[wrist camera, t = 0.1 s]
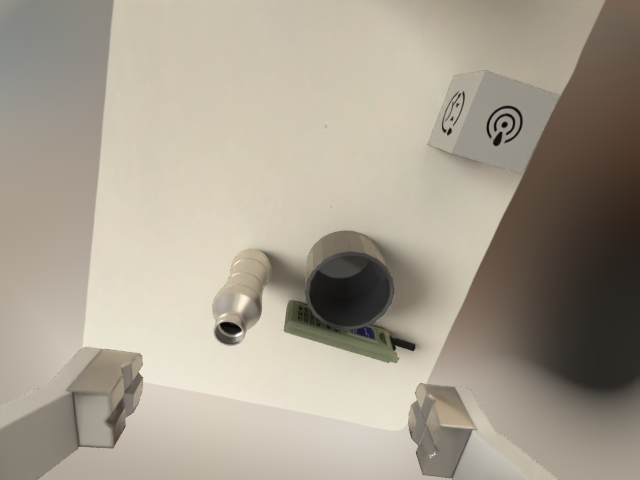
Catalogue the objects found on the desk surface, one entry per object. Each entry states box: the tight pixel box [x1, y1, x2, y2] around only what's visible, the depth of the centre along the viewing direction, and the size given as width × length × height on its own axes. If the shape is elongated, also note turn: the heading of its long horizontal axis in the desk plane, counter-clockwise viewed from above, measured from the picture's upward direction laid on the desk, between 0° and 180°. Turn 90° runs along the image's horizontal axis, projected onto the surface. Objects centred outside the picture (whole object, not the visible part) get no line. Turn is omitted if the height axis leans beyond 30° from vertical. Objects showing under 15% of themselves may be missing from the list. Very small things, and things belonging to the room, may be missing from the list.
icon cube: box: [428, 70, 560, 175], centre depth 49 cm, size 10×10×10 cm
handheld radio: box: [284, 300, 415, 363], centre depth 64 cm, size 7×3×25 cm
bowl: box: [305, 231, 394, 330], centre depth 58 cm, size 13×13×9 cm
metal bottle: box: [212, 249, 272, 346], centre depth 52 cm, size 6×7×20 cm
